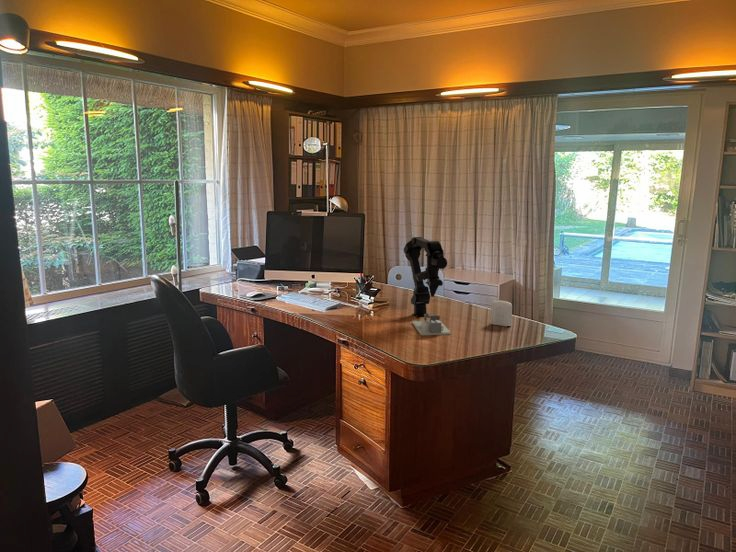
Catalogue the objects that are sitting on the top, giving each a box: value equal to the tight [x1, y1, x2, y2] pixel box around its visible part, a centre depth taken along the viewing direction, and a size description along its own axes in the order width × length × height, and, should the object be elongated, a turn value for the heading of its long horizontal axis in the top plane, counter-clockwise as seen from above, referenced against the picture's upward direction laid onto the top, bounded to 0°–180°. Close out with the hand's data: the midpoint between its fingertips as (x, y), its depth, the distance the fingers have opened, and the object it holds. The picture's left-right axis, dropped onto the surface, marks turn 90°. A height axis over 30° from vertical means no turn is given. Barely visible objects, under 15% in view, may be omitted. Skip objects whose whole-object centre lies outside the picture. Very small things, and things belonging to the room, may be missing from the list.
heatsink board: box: [412, 313, 452, 336], centre depth 259 cm, size 22×14×6 cm, turn 6°
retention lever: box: [426, 314, 441, 321], centre depth 255 cm, size 2×4×14 cm
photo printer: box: [490, 300, 513, 327], centre depth 263 cm, size 10×4×12 cm, turn 56°
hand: (432, 296), depth 270 cm, fingers closed
